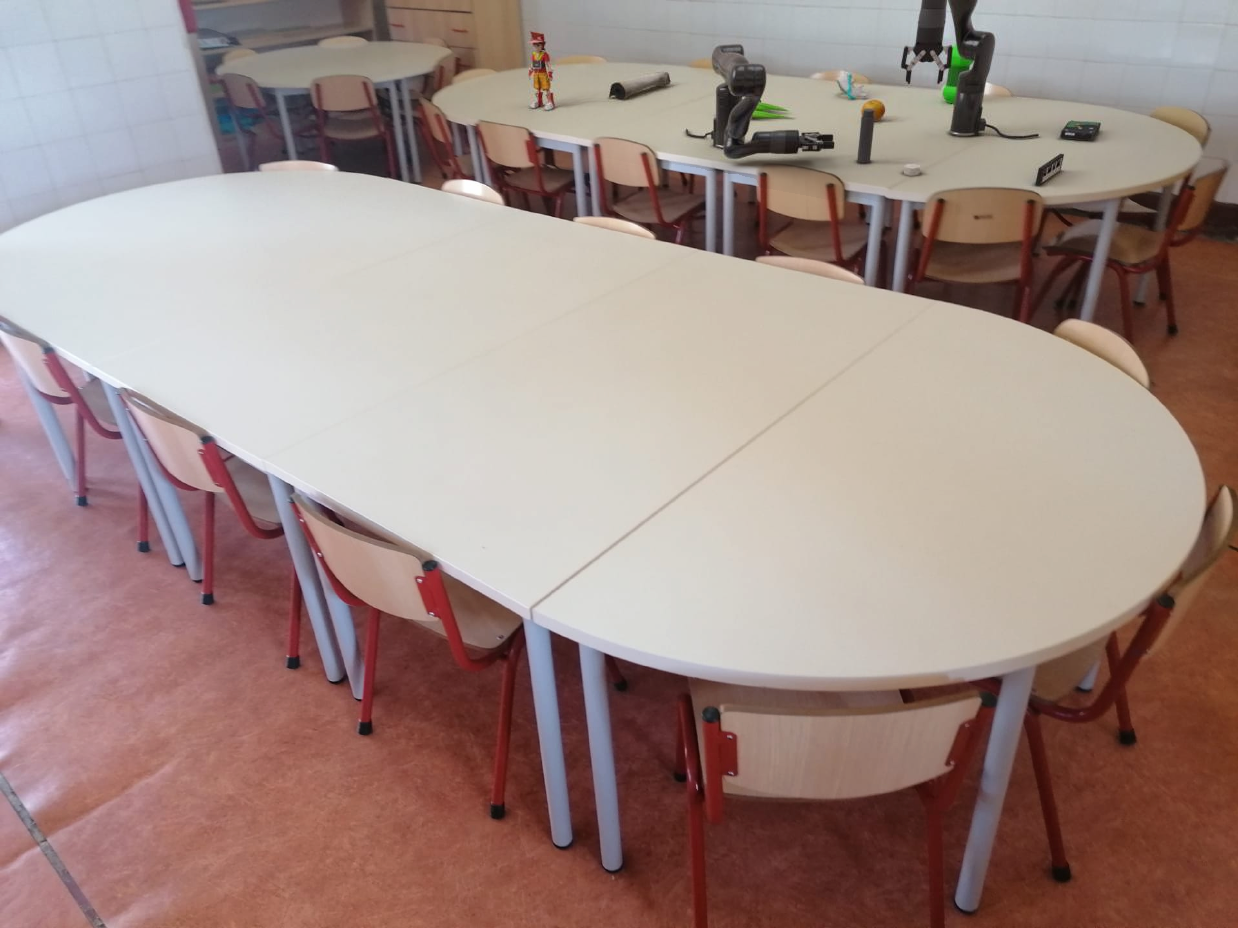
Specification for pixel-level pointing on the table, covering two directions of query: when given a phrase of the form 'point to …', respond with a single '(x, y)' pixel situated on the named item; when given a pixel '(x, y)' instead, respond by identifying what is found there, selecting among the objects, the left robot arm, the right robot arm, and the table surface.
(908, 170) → the lid
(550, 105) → the toy
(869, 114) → the dark cylinder
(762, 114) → the toy
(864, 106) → the fruit
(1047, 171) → the midi keyboard
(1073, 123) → the disk drive
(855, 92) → the anatomical model
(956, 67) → the green dumbbell
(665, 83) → the rolled mat
